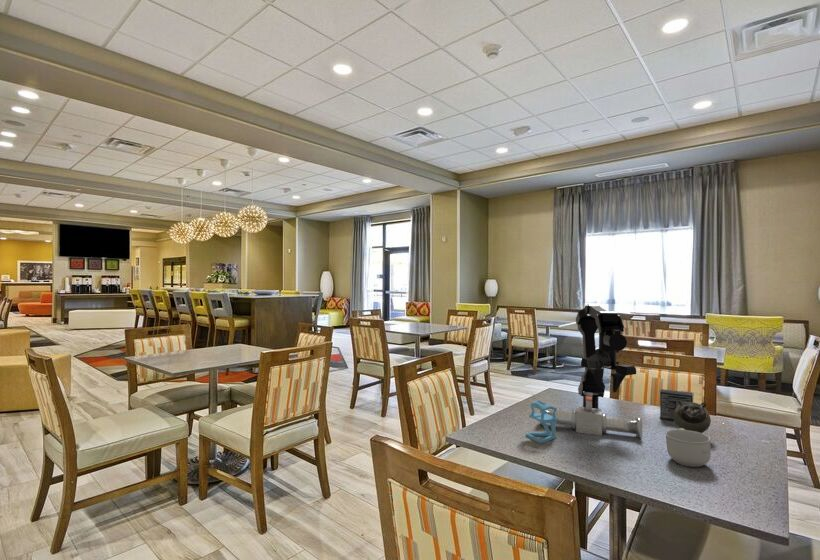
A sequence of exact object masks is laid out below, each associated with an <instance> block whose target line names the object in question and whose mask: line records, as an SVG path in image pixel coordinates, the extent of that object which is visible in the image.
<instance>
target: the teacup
mask: <svg viewBox="0 0 820 560" xmlns="http://www.w3.org/2000/svg"><path fill="white" fill-rule="evenodd" d="M664 436H665V441H666V442H665V443H666V451H667V453H668V455H669V457H670V458H671V459H672V460H674V462H676V463H677V464H679V465H681V466H685V467H690V468H691V467H692V468H700V467H702V466H704V465H706V464H707V463H709V461H710V460H711V454H712V453H711V450H712V449H711V440H712V439H711V437H710V436H709V435H707V434H705V433H704V432H703V433H699V432H696V431H690V430H685V429H683V428H680V427H679V428H678V429H669V430H667V431H666V432H665V435H664Z"/></svg>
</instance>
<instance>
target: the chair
mask: <svg viewBox="0 0 820 560" xmlns="http://www.w3.org/2000/svg"><path fill="white" fill-rule="evenodd" d="M529 405H530V409H531V413H529V414H528V418H531V419H534V420H535V421H537V422H539V423H540V422H541V423H542V424H543V425H542V426H543V428H544V430H545V432H526V433H525V436H526V437H527V438H528V439H531V440H533V441H535V442H537V443H539V444H544V443H547V442H550V441H552V440H554V439H557V434H556V433H557V432H556V429H557V428H556V426H557V424H556V422H557V421H558V418H556V417H555V412H556V411H557V409H558V407H557V406H555V407H554V406H553V405H551V404H549V403H548V404H547V402H543V401H541V400H535V401H533V402H531V403H530V404H529ZM534 408H535V409H537V410H539V413H535V409H534ZM546 410H552V411H553V414H552V416H551V415H549V414H546ZM540 411H541V413H540ZM547 424H549V425H550V426H551V431H550V429H549V426H548V425H547ZM538 437H544V438H542V439H541V438H538Z"/></svg>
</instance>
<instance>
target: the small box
mask: <svg viewBox="0 0 820 560" xmlns="http://www.w3.org/2000/svg"><path fill="white" fill-rule="evenodd" d="M659 395H660V397H659V402H660V403H659V404H660V405H659V408H660V409H659V410H660V413H659V419H660V420H664V421H670V422H671V421H672V422H675V421H674V411H675V409H676V407H677V406H678V405H679V399H680V400H683V402H693V401H694V400H693V397H694V396H693V392H690V391H679V390H672V389H663V388H660V390H659Z"/></svg>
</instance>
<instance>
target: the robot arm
mask: <svg viewBox="0 0 820 560" xmlns="http://www.w3.org/2000/svg"><path fill="white" fill-rule="evenodd" d="M575 323H576V325H577V330H578V331H579V333H580V335H582V346H583V348H582V350H583V358H582V359H581V361H580V366H581V367H583V368H584V372H583V374H582V375H581V381H579V382H580V383H579V385H578V387H577V388H578V389H577V391H578V395H579V396H580V397H582V407H586V400H585V392H590V393H592V395H593V401H592V408H595V409H600V408H599V398H604V396H605V391H606V390H605V389H606V385H605V382H604V379H603V378H604V373H605V372H604V371H605V369H607V370H610V371H611V370H612V371H614V372H613V373H610V376H611V377H612V391H613V393H617V392H618V390H619V387H620V386H621V384H622V382H623V381H624V379H625V378H626V376H631V375H632V376H633V375H637V368H636V366H635V365H631V364H627V363H626V364H619V363H620V362H619V361H618V360H617V354H619V352H620V351H622V350H625V348H626V347H627V344H628V340H627V338H626V336H625V335H623V334H622V333H623V332H624V331H625V330H624V329H625V326H624V322H623V320H622V318H621V315H620V314H619V313H618V311H612V310H611V311H610V310H609V311H608V310H606V309H604V308H603V307H601V306H600V305H599V304H594V303H593V304H589V303H588V304H585V306H584V308H582V309H581V310H579V311H578V312H577V314H576V317H575ZM597 331H598V348H596V337H595V336H596V335H595V334H596V332H597Z"/></svg>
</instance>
